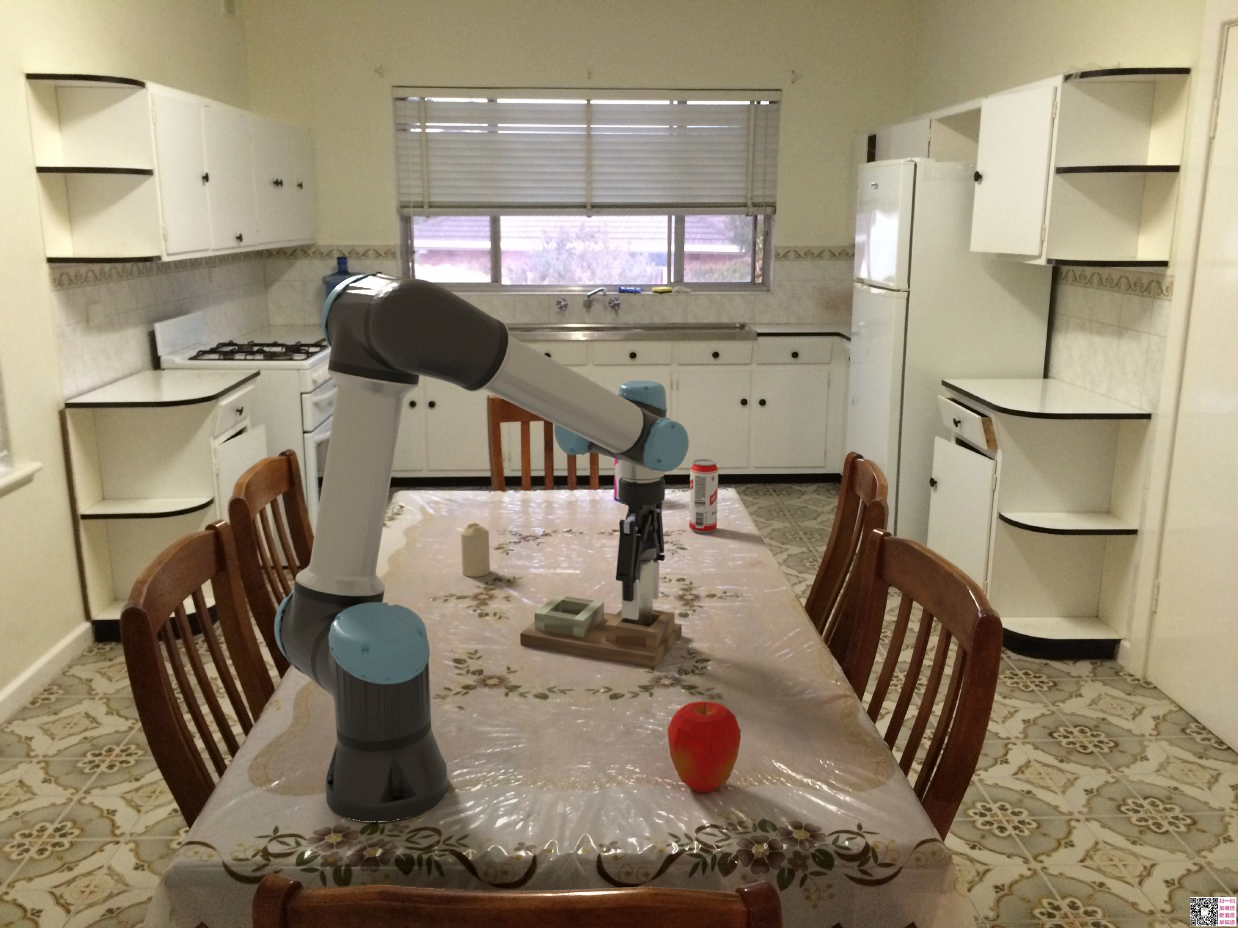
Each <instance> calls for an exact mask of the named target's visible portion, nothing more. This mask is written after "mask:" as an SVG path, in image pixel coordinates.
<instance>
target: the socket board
mask: <svg viewBox="0 0 1238 928" xmlns="http://www.w3.org/2000/svg"><path fill="white" fill-rule="evenodd" d="M675 614H676V613H675V612H670V611H665V610H657V609H653V615H652V625H651V626H650V627H649V626H642V625H636V624H630V623H629V618H622V608H621V609H620V610H618V612H617V613H610V612H606V611H605V602H604V601H600V600H599V601H598V600H592V599H586V598H580V597H573V596H569V595H568V596H567V595H559V594H556V595H555V596H554V597H553V598H551V599H550V600H549V601H547V602H546V603H545V604H544V605H543V606H541V607H540V608H539V609H537V610H536V611H535V612H534V621H533V622H532V623H531V624H530V625H529V626H528V627H526V628H525V629H523V630H522V631H521V632H520V634H519V636H520V637H519V639H520V640H519V641H520V645H523V646H529V647H534V648H540V649H545V650H552V651H557V652H561V653H566V654H567V653H568V654H573V655H580V656H584V657H585V656H586V657H592V658H598V659H602V660H610V661H614V662H620V663H625V664H631V665H636V666H637V665H638V666H644V667H648V668H655V667H656V666H657V665H658V663H659V662H660V661H661V660H662V659H663V657H664V656H665V655H666V654H667V653H668V652H669V651H670V649H672V647H673V646H674V645H675V644H676V642H677V641H678V640H679V639H680V637H682V636H683V627H682V626H683V624H681V623H676V622H675V617H676V615H675Z"/></svg>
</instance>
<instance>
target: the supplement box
mask: <svg viewBox="0 0 1238 928" xmlns="http://www.w3.org/2000/svg"><path fill="white" fill-rule="evenodd" d="M618 464H619V459H615V458H614V479H613V483H614V484H613V485H614V487H613V488H614V489H613V499H614V500H615V501H617V502H620V503H622V504H624V505H627V504H626V503H623V502H621V501H620V499H619V479H620V478H621V476H620V475H619V474H618Z"/></svg>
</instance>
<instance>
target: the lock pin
mask: <svg viewBox="0 0 1238 928" xmlns="http://www.w3.org/2000/svg"><path fill="white" fill-rule="evenodd" d="M655 558H656V548H655V547H653V546H650V545H644V544H642V550H641V556H640V562H639V568H638V574H637V580H639V618H638V619H637V620H635V619H629V623H630V624H636V625H642V626H649V627H650V626H651V625H652V615H653V610H654V609H653V604H654V602H653V601H654V599H653V559H655Z"/></svg>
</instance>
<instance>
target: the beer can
mask: <svg viewBox="0 0 1238 928" xmlns="http://www.w3.org/2000/svg"><path fill="white" fill-rule="evenodd" d="M692 463H693V464H692V465H691V468H690V472H689V473H690V474H689V475H690V477H689V512H688V513H689V514H688V515H689V520H688V522H689V523H688V527H689V528H690V530H691V531H692V532H693V533H696V534H703V533H705V534H711V533H713V532H714V531H715V530H716V529H717V527H718V495H719V494H718V492H719V491H718V489H719V488H718V487H719V468H718V466H717V464H716V463H717V461H716V460H713V459H707V458H706V459H705V458H702V459H701V458H700V459H695V460H693V461H692ZM710 532H711V533H710Z"/></svg>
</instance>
